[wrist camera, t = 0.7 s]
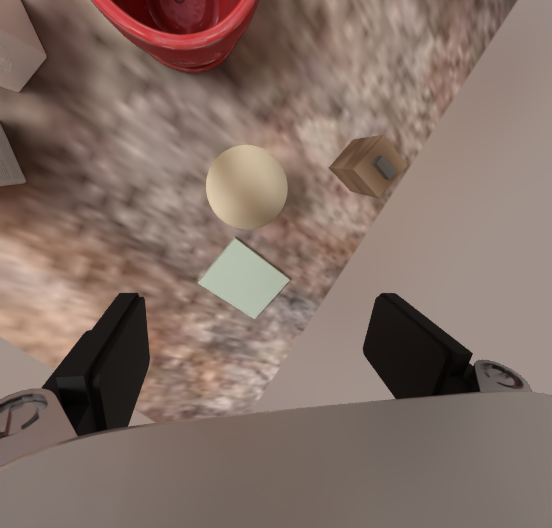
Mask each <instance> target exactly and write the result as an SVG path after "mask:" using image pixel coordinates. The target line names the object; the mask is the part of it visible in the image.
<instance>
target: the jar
mask: <svg viewBox="0 0 552 528" xmlns="http://www.w3.org/2000/svg"><path fill="white" fill-rule="evenodd" d="M46 57H47V56H46V53H45V51H44V49H43V47H42V45H41V43H40V41H39V38H38V36H37V34H36V32H35V30H34V28H33V25H32V23H31V21H30V19H29V17H28V15H27V13H26V10H25V8H24V6H23V4H22V2H21V0H0V87H1V88H5V89H8V90H11V91H14V92H20V90H21V89H22V88H23V87H24V85H25V84H26V83H27V82H28V80H29V79H30V78H31V77H32V75H33V74H34V73H35V72H36V70H37V69H38V68H39V67H40V65H41V64H42V63H43V62H44V60H45V59H46Z"/></svg>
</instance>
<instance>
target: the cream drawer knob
mask: <svg viewBox="0 0 552 528" xmlns="http://www.w3.org/2000/svg"><path fill="white" fill-rule="evenodd" d="M206 192H207V197H208V200H209V203H210V205H211V207H212V209H213V211H214V212H215V213H216V215H217V216H218V217H219V218H220V219H221V220H223V221H224V222H225V223H227V224H229V225H231V226H233V227H236V228H240V229H255V228H259V227H262V226H264V225H267V224H268V223H270V222H271V221H272V220H274V219H275V218H276V217H277V216H278V214H279V213H280V212H281V210H282V208H283V207H284V204H285V202H286V198H287V192H288V185H287V178H286V174H285V172H284V169H283V167H282V166H281V164H280V163H279V161H278V160H277V159H276V158H275V157H274V156H273V155H272V154H271V153H269V152H268V151H266V150H264V149H262V148H260V147H257V146H252V145H240V146H235V147H232V148H230V149H228V150H226V151H224V152H223V153H222V154H221V155H219V156H218V157H217V158H216V160H215V161H214V162H213V164H212V165H211V167H210V170H209V172H208V175H207V180H206Z"/></svg>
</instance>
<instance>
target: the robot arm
mask: <svg viewBox="0 0 552 528" xmlns="http://www.w3.org/2000/svg"><path fill="white" fill-rule="evenodd" d="M363 353H364V355H365V357H366V358H367V360H368V361H369V362H370V364H371V365H372V366H373V368H374V369H375V370H376V372H377V373H378V375H379V376H380V378H381V379H382V380H383V382H384V383H385V385H386V386H387V387H388V389H389V390H390V392H391V393H392V394H393V395H394V397H395V398H396V399H392V400H382V401H370V402H359V403H349V404H338V405H327V406H317V407H306V408H296V409H286V410H276V411H266V412H256V413H246V414H236V415H226V416H216V417H206V418H196V419H186V420H176V421H166V422H159V423H152V424H144V425H137V426H130V427H128V425H129V422H130V419H131V416H132V413H133V410H134V407H135V405H136V402H137V399H138V396H139V393H140V390H141V387H142V385H143V382H144V379H145V376H146V373H147V370H148V367H149V361H150V355H149V343H148V332H147V320H146V308H145V299H144V297H139V294H138V293H119V294H118V296H117V297H116V298H115V300H114V301H113V302H112V304H111V305H110V306H109V307H108V309H107V310H106V311H105V313H104V314H103V315H102V317H101V318H100V319H99V321H98V322H97V323H96V325H95V326H94V327H93V329H92V330H89V331H86V332H85V333H84V334H83V335H82V337H81V338H80V339H79V341H78V342H77V343H76V344H75V346H74V347H73V348H72V349H71V351H70V352H69V353H68V355H67V356H66V357H65V358H64V360H63V361H62V362H61V364H60V365H59V366H58V367H57V369H56V370H55V371H54V373H53V374H52V375H51V376H50V378H49V379H48V380H47V381H46V383H45V384H44V385H43V387H42V388H41V389H28V390H23V391H19V392H16V393H14V394H11V395H8V396H6V397H4V398H2V399H0V528H552V395H548V394H543V393H535V392H532V390H531V388H530V386H529V384H528V383H527V381H526V380H525V379H524V378H523V377H522V376H521V375H519V374H518V373H516V372H515V371H513V370H512V369H510V368H508V367H506V366H504V365H501V364H499V363H496V362H493V361H489V360H478V361H476V362H475V364H474V366H472V365H471V364H470V363H469V361H470V359H471V357H472V354H473V353H471V352H470V351H469V350H468V349H466V348H465V347H464V346H462V345H461V344H460V343H459V342H457V341H456V340H455V339H454V338H452V337H451V336H450V335H449V334H447V333H446V332H445V331H443V330H442V329H441V328H439V327H438V326H437V325H436V324H434V323H433V322H432V321H431V320H429V319H428V318H427V317H425V316H424V315H423V314H422V313H420V312H419V311H418V310H416V309H415V308H414V307H412V306H411V305H410V304H409V303H407V302H406V301H405V300H404V299H402V298H401V297H399V296H398V295H397V294H395V293H382V294H380V295H379V296H378V297H377V298H376V300H375V303H374V307H373V311H372V315H371V319H370V323H369V327H368V331H367V334H366V338H365V342H364V346H363Z"/></svg>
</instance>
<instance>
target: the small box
mask: <svg viewBox="0 0 552 528" xmlns="http://www.w3.org/2000/svg"><path fill="white" fill-rule="evenodd" d="M24 183H26V180H25V177H24V175H23V173H22V171H21V169H20V166H19V164H18V162H17V160H16V157H15V155H14V153H13V151H12V148H11V146H10V144H9V141H8V139H7V137H6V135H5V133H4V130H3V128H2V126H1V124H0V186H8V185H16V184H24Z"/></svg>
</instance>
